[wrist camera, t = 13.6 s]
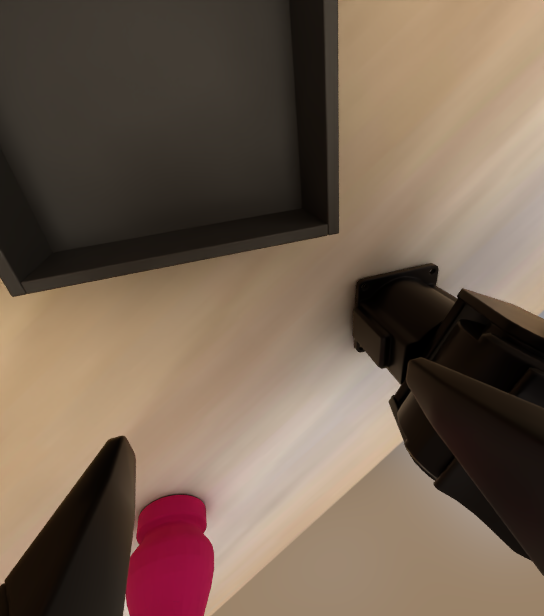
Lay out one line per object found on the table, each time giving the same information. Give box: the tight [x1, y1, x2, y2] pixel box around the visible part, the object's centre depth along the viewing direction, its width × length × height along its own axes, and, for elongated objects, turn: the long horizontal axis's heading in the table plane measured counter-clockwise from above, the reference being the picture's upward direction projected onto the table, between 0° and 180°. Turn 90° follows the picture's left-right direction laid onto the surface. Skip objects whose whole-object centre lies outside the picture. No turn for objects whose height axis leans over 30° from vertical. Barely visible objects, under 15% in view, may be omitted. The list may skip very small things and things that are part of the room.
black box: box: [0, 0, 339, 297], centre depth 13 cm, size 15×13×4 cm
